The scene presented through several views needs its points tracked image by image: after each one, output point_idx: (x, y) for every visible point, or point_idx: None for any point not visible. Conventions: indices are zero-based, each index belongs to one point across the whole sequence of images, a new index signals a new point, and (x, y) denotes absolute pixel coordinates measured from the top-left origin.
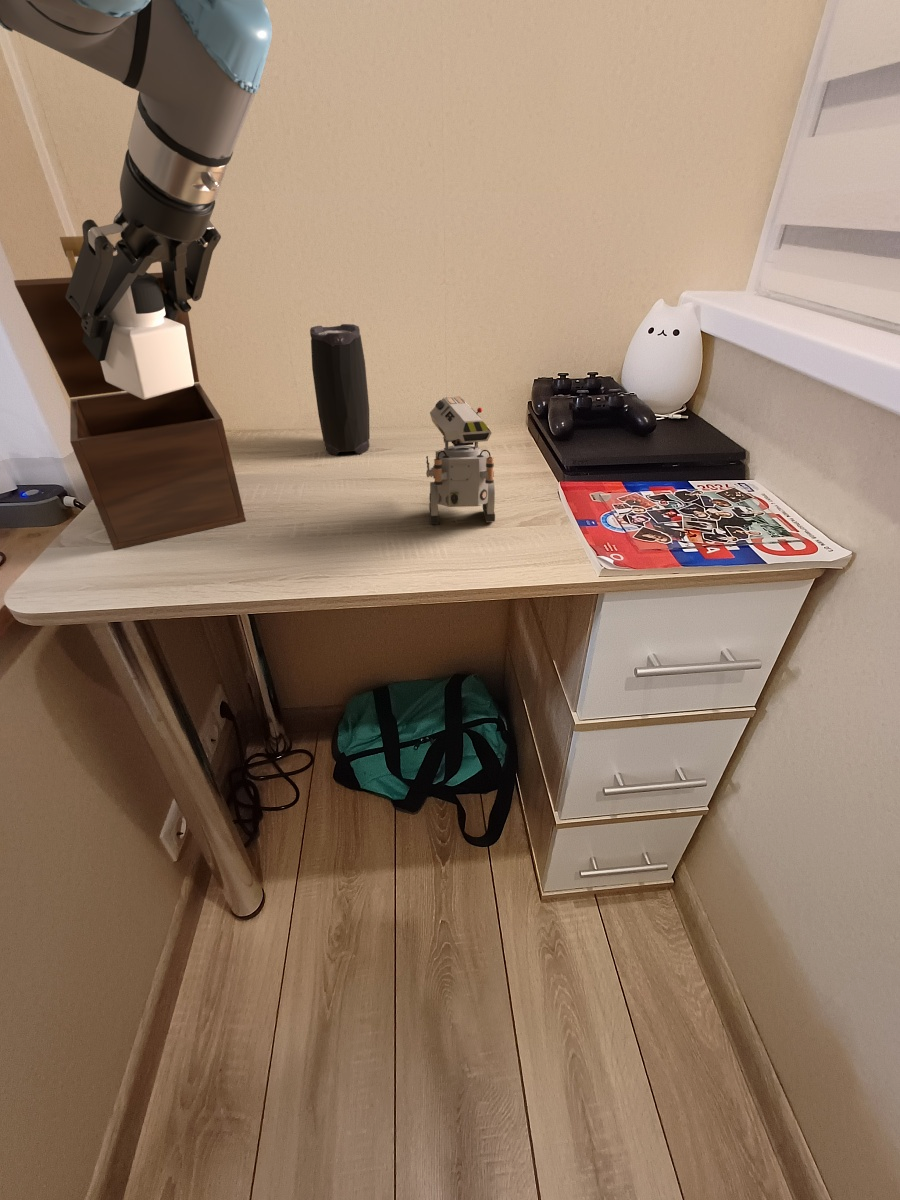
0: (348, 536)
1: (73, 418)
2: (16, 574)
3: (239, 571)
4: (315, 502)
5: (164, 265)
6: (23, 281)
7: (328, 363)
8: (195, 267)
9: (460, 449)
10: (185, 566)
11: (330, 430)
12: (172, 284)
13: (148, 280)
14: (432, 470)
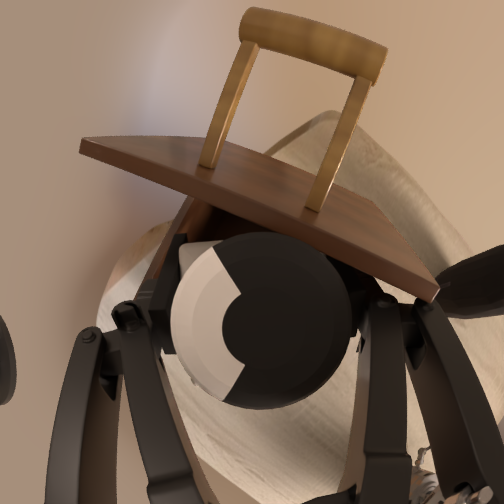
0: (322, 450)
1: (178, 219)
2: (112, 281)
3: (222, 428)
4: (353, 379)
5: (363, 411)
6: (90, 146)
7: (497, 295)
8: (431, 419)
9: (429, 492)
10: (197, 387)
11: (445, 298)
12: (358, 388)
13: (292, 394)
14: (419, 462)
